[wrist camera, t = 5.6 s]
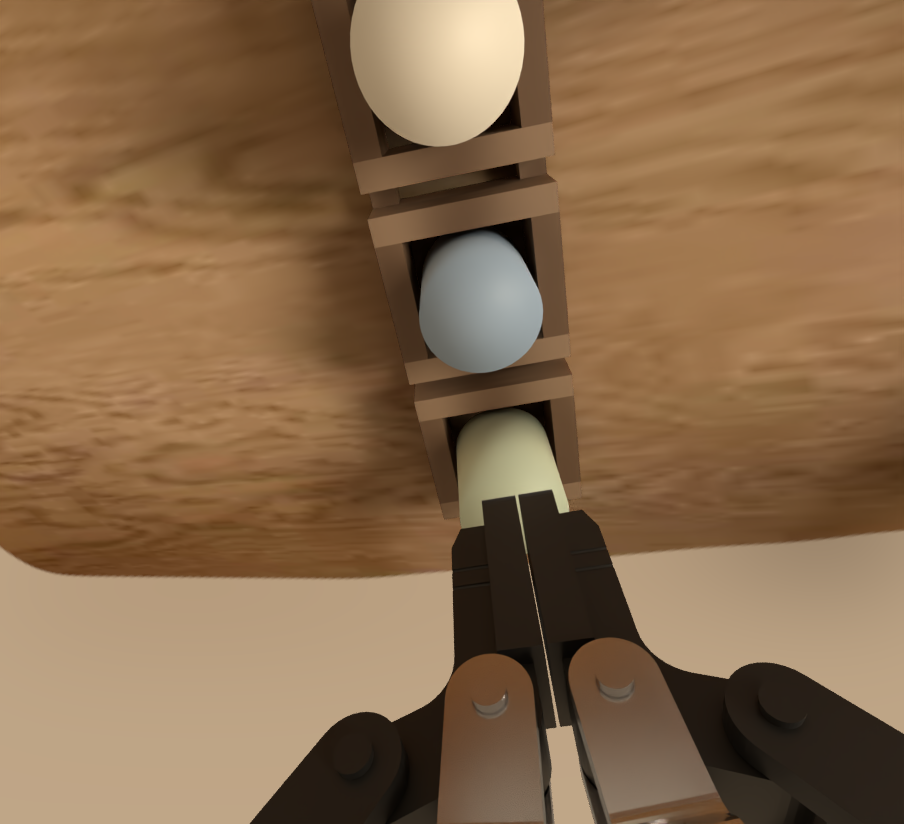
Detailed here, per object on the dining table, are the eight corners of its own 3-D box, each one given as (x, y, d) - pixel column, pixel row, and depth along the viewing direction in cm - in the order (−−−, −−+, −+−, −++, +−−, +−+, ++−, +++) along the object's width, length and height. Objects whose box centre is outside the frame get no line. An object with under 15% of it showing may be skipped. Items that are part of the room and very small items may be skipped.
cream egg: (531, 49, 20) (560, 36, 15) (447, 162, 22) (449, 181, 17) (426, -63, 18) (422, -117, 14) (344, 70, 20) (316, 64, 16)
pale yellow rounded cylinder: (566, 440, 29) (592, 509, 25) (504, 496, 31) (517, 570, 26) (498, 390, 28) (511, 453, 23) (437, 452, 30) (437, 523, 25)
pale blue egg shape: (544, 269, 26) (568, 308, 22) (478, 342, 28) (486, 393, 24) (467, 200, 25) (474, 227, 20) (401, 283, 27) (394, 326, 22)
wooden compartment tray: (518, -96, 20) (532, -129, 17) (569, 465, 34) (582, 503, 31) (314, -47, 21) (293, -71, 18) (444, 485, 35) (445, 524, 31)
